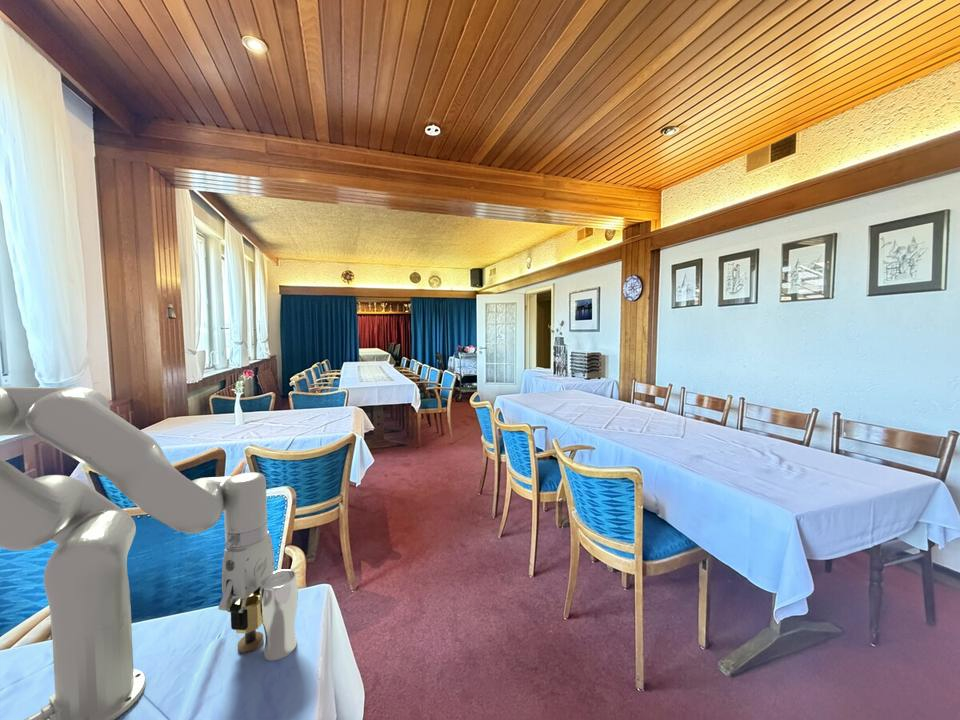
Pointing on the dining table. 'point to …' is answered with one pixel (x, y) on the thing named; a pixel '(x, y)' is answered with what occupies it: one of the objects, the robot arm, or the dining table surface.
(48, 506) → the robot arm
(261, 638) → the stand
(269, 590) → the silver metal vase
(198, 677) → the dining table surface
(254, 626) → the brass ring
